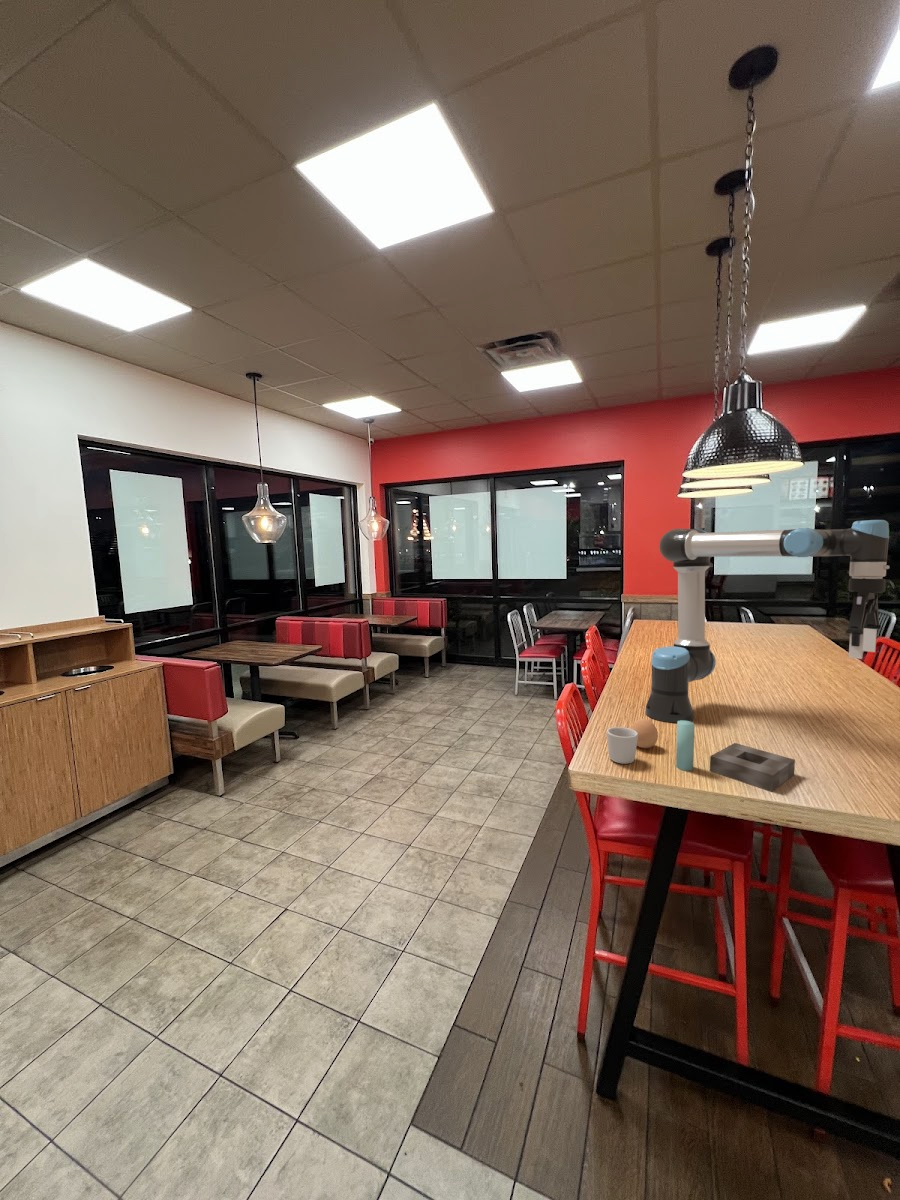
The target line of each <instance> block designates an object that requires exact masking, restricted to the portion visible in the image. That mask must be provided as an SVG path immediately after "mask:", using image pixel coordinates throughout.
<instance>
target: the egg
mask: <svg viewBox="0 0 900 1200" xmlns="http://www.w3.org/2000/svg"><path fill="white" fill-rule="evenodd" d="M656 727H657V726H656V725H655V724H654V723H653V722H652V721H651V720H650V719H649V718H643V717H641V718H639V719H637V720H635V722H634V723H633V724H632V726H631V728H630V729H632V730H635V731H636V732H637V733H638V740H637V747H639V748H640V749H649V748H651V747H653V746H654V745H656V743H657V741H658V740H659V738H658V737H659V733H658V728H656Z"/></svg>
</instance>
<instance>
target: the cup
mask: <svg viewBox="0 0 900 1200" xmlns="http://www.w3.org/2000/svg"><path fill="white" fill-rule="evenodd" d="M606 737H607V738H606V739H607V748H608V756H609V758H610V760H611V761H613V762H614V763H618V764H623V765H627V764H632V763H633V762H634V761H635V758H636V756H637V755H636V753H637V747H638V746H637V740H638V733H637V732H636V731H635V730H632V729H631V728H628V727H626V726H625V727H623V726H613V727H610V728H607V730H606Z"/></svg>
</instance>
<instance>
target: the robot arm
mask: <svg viewBox="0 0 900 1200" xmlns="http://www.w3.org/2000/svg"><path fill="white" fill-rule="evenodd" d="M889 525H890V524H889V522H888V521H887V520H884V519H870V520H856V521H853V523H852V526H851V528H844V529H842V528H841V529H816V528H809V527H803V528H802V527H801V528H800V527H799V528H797V529H796V528H795V529H793V528H792V529H774V530H768V529H767V530H747V531H745V530H744V531H725V532H724V531H720V532H719V531H718V532H708V531H706V530H703V529H698V528H674V529H671V530H668V531H667V532H666V533H664V534H663V535H662V537H661V538H660V541H659V545H658V547H659V552H660V554H661V555H662V557H663V558H664V559H665V560H667V561H669V562H672V563H673V566H672V567H673V569H674V570H675V571H676V572H677V600H678V601H677V605H678V606H677V609H678V611H677V614H678V616H677V619H678V620H677V622H678V623H677V631H678V632H677V636H678V637H677V638H676V640H674V642H673V646H662V647H658V648H656V649H655V650H653V652H652V654H651V663H650V664H651V689H650V690H651V691H650V695H649V698H648V700H647V703H646V705H645V715H646V716H647V717H648V718H651V719H654V720H657V721H659V722H665V723H676V724H677V722H678V721H681V720H685V721H690V722H693V720H694V710H693V707H692V703H691V700H690V697H689V683H692V682H694V681H698V680H699V681H700V680H703V679H704V678H706V677H708V676H710V675H711V674H712V673H713V671H714V670H715V668H716V664H717V662H716V656H715V654H714V653H713V652H712V650H711V649H710V648H711V646H710V645H711V644H710V642H709V641H708V640H707V639H706V599H705V598H706V582H705V581H706V571H707V570H708V569H709V568H710V567H711V566H710V565H711V563H710V562H711V558H712V557H713V558H714V557H715V558H716V557H724V558H725V557H728V558H729V557H731V558H732V557H737V558H739V557H787V558H788V557H793V558H795V557H797V558H810V557H813V558H814V557H817V558H818V557H842V556H843V557H847V556H848V557H849V556H850V561H849V571H848V572H849V577H850V578H849V580H848V591H849V592H850V593H857V595H855V596H853V598H852V606H851V607H852V608H851V613H850V618H849V622H848V628H847V629H846V630H845V633H846V634H849V647H848V658H850V659H858V660H862V659H863V654H864V652H869V653H870V652H871V653H876V649H877V647H876V646H877V634H878V633H877V631H878V630H881V628H882V625H881V624H880V615H879V594H881V593H885V591H886V584H887V583H886V581H887V580H886V579H885V578H883V577H886V576H887V570H889V569H890V565H887V562H888V551H889V543H890V541H889V539H890V533H889V531H890V526H889ZM878 593H879V594H878Z"/></svg>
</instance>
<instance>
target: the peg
mask: <svg viewBox="0 0 900 1200" xmlns="http://www.w3.org/2000/svg"><path fill="white" fill-rule="evenodd" d="M676 725H677V726H676V731H677V732H676V759H675V760H676V763H675V767H676V768H677V769H678V770H681V771H684V772H685V771H686V772H691V771H693V770H694V756H695V754H694V752H695V751H694V750H695V723H694V722H693V721H685V720H681V721H678V722H677V723H676Z"/></svg>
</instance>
